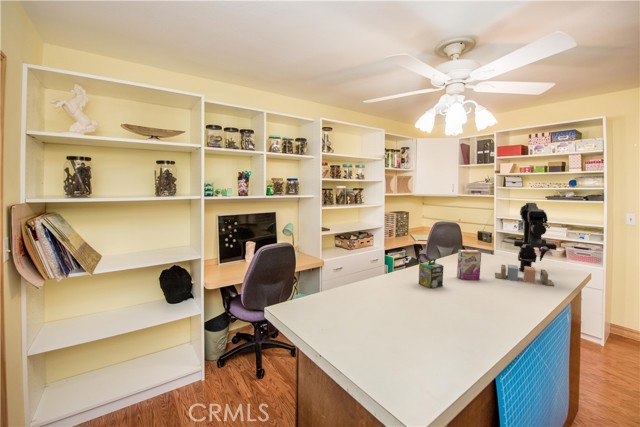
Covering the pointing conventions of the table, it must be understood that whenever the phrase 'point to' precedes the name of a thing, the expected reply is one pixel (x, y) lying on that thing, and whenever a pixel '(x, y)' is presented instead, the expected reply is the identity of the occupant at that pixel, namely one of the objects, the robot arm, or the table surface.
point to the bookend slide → (545, 278)
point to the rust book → (529, 274)
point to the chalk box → (431, 274)
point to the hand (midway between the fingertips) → (533, 259)
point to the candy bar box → (469, 264)
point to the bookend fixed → (502, 274)
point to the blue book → (512, 272)
